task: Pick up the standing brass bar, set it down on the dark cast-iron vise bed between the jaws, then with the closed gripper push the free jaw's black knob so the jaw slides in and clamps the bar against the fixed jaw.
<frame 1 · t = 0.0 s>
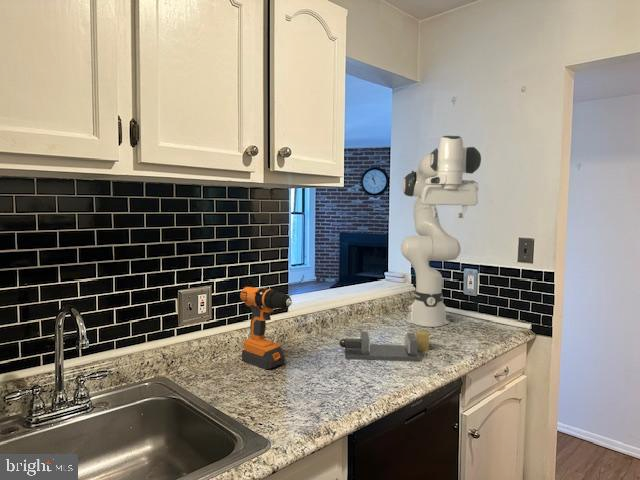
hand: (448, 217, 163), 48 cm above the countertop, tool pointing down, fingers open, 8 cm apart
jaw: (354, 342, 155), point 4 cm above the countertop, slide at 0.0 cm
power drill: (267, 365, 143), on the countertop
block: (421, 348, 162), on the countertop
vise: (387, 354, 155), on the countertop
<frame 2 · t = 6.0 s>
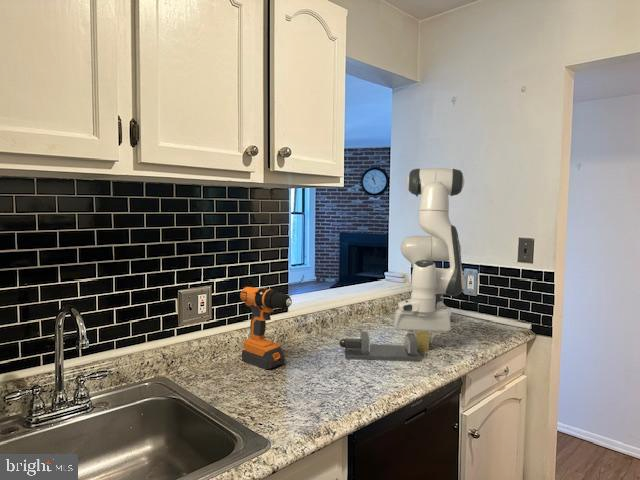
hand: (421, 342, 162), 2 cm above the countertop, tool pointing down, fingers closed on block, 4 cm apart
block: (421, 348, 162), on the countertop, touching gripper
everything else where it was.
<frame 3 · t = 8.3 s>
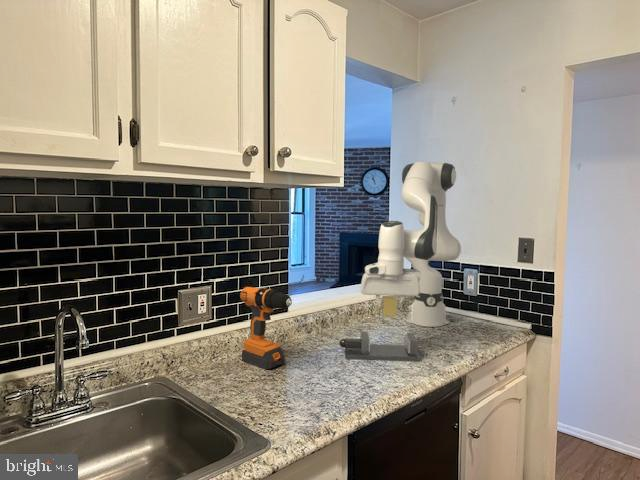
hand: (389, 307, 154), 17 cm above the countertop, tool pointing down, fingers closed on block, 4 cm apart
block: (389, 314, 154), point 14 cm above the countertop, touching gripper
everything else where it was.
when the fingers open (5 cm above the countertop, at t = 10.7 s): block stays where it is, resting on vise.
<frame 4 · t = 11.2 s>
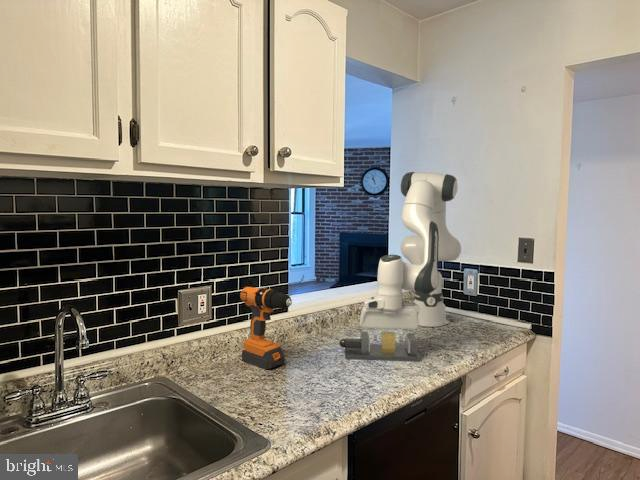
hand: (388, 340, 155), 5 cm above the countertop, tool pointing down, fingers open, 8 cm apart
block: (387, 350, 155), point 1 cm above the countertop, touching vise
everything else where it was.
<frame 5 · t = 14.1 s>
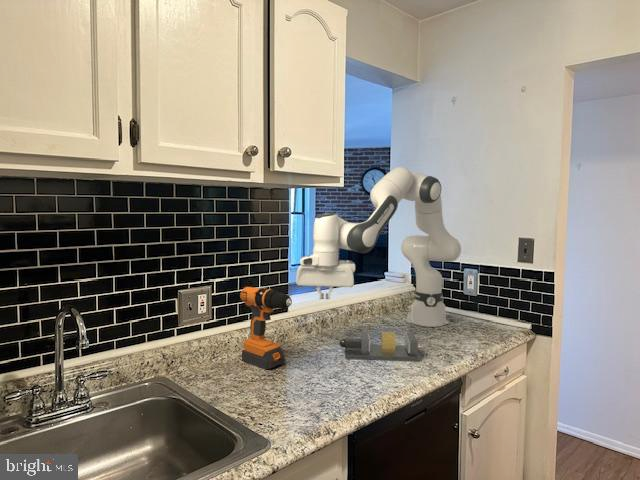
hand: (324, 298, 155), 19 cm above the countertop, tool pointing down, fingers closed
nothing on the countertop moved.
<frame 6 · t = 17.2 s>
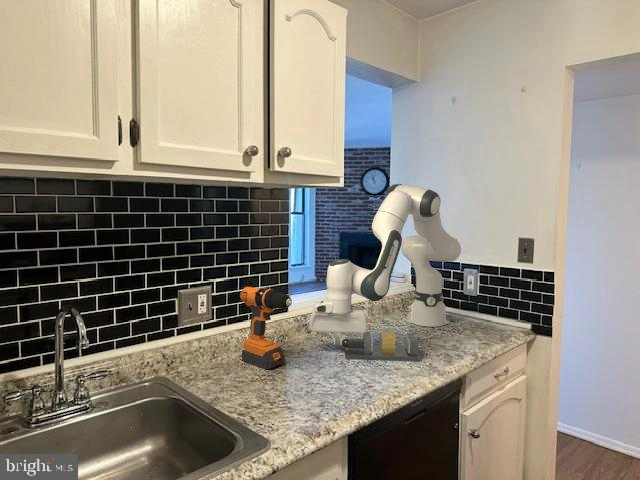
hand: (337, 344, 156), 3 cm above the countertop, tool pointing down, fingers closed
jaw: (357, 342, 155), point 4 cm above the countertop, slide at 0.9 cm, touching gripper
everything else where it was.
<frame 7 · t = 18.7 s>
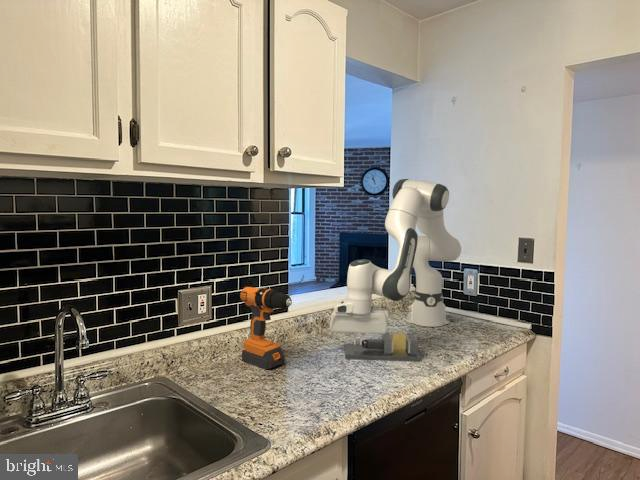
hand: (357, 344, 156), 3 cm above the countertop, tool pointing down, fingers closed
jaw: (376, 342, 155), point 4 cm above the countertop, slide at 7.8 cm, touching block, gripper
block: (397, 350, 155), point 2 cm above the countertop, touching jaw
everything else where it was.
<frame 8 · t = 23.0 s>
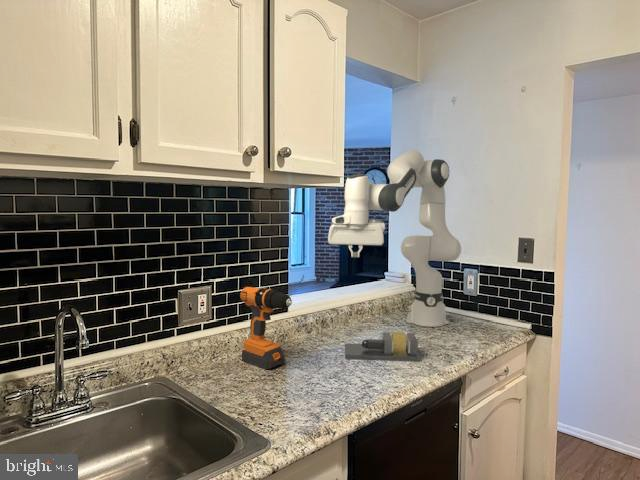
hand: (355, 257, 161), 33 cm above the countertop, tool pointing down, fingers closed
jaw: (376, 342, 155), point 4 cm above the countertop, slide at 7.9 cm, touching block
block: (398, 350, 155), point 1 cm above the countertop, touching jaw, vise
everything else where it was.
at the end: jaw slide at 7.9 cm; block 0.6 cm from the target spot on the vise, point 1.5 cm above the vise's base; block tilted 0° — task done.
